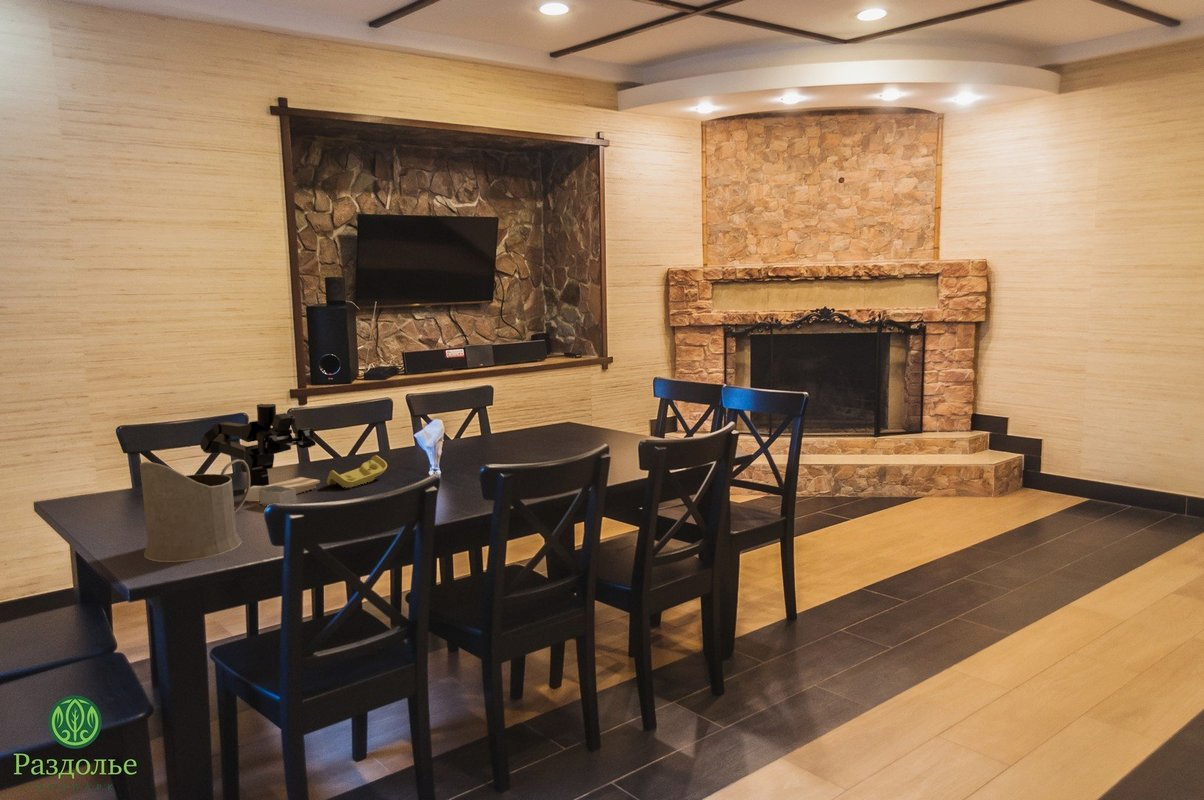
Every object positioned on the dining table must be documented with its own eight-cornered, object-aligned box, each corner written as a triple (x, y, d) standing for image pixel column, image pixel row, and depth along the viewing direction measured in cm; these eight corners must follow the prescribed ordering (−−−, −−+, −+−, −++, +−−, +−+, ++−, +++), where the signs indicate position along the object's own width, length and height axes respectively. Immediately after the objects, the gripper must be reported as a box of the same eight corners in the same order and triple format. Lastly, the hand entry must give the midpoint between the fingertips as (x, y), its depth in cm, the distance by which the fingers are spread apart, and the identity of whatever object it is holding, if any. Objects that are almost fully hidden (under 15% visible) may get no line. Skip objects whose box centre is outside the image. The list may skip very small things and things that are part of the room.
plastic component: (348, 483, 294) (328, 468, 298) (344, 501, 297) (324, 486, 301) (393, 467, 310) (373, 452, 314) (388, 484, 313) (369, 469, 317)
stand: (264, 495, 291) (264, 486, 291) (300, 485, 302) (300, 477, 302) (284, 498, 285) (283, 489, 285) (320, 489, 297) (319, 480, 297)
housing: (260, 505, 278) (258, 489, 277) (276, 500, 283) (275, 485, 282) (280, 509, 273) (279, 493, 272) (297, 504, 277) (295, 488, 277)
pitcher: (124, 556, 231) (113, 460, 227) (223, 523, 259) (216, 437, 255) (187, 566, 221) (177, 466, 217) (284, 531, 249) (276, 442, 245)
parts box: (245, 501, 283) (244, 489, 283) (255, 497, 288) (254, 485, 288) (259, 502, 282) (258, 490, 282) (268, 498, 287) (267, 486, 286)
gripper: (246, 416, 283) (277, 424, 275) (297, 409, 299) (327, 417, 290) (247, 450, 285) (277, 460, 277) (297, 442, 300) (327, 450, 292)
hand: (303, 445), depth 284 cm, fingers open, 9 cm apart
